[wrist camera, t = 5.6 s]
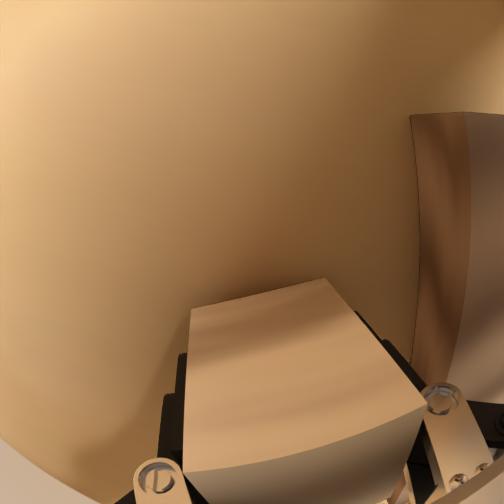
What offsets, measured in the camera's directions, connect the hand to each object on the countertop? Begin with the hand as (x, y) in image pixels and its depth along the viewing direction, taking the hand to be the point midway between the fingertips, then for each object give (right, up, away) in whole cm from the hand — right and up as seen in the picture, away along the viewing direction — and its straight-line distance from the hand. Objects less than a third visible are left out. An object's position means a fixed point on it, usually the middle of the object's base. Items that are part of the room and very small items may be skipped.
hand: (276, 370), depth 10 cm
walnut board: (+12, -3, +5) cm, 13 cm away
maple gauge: (0, -2, +2) cm, 3 cm away
